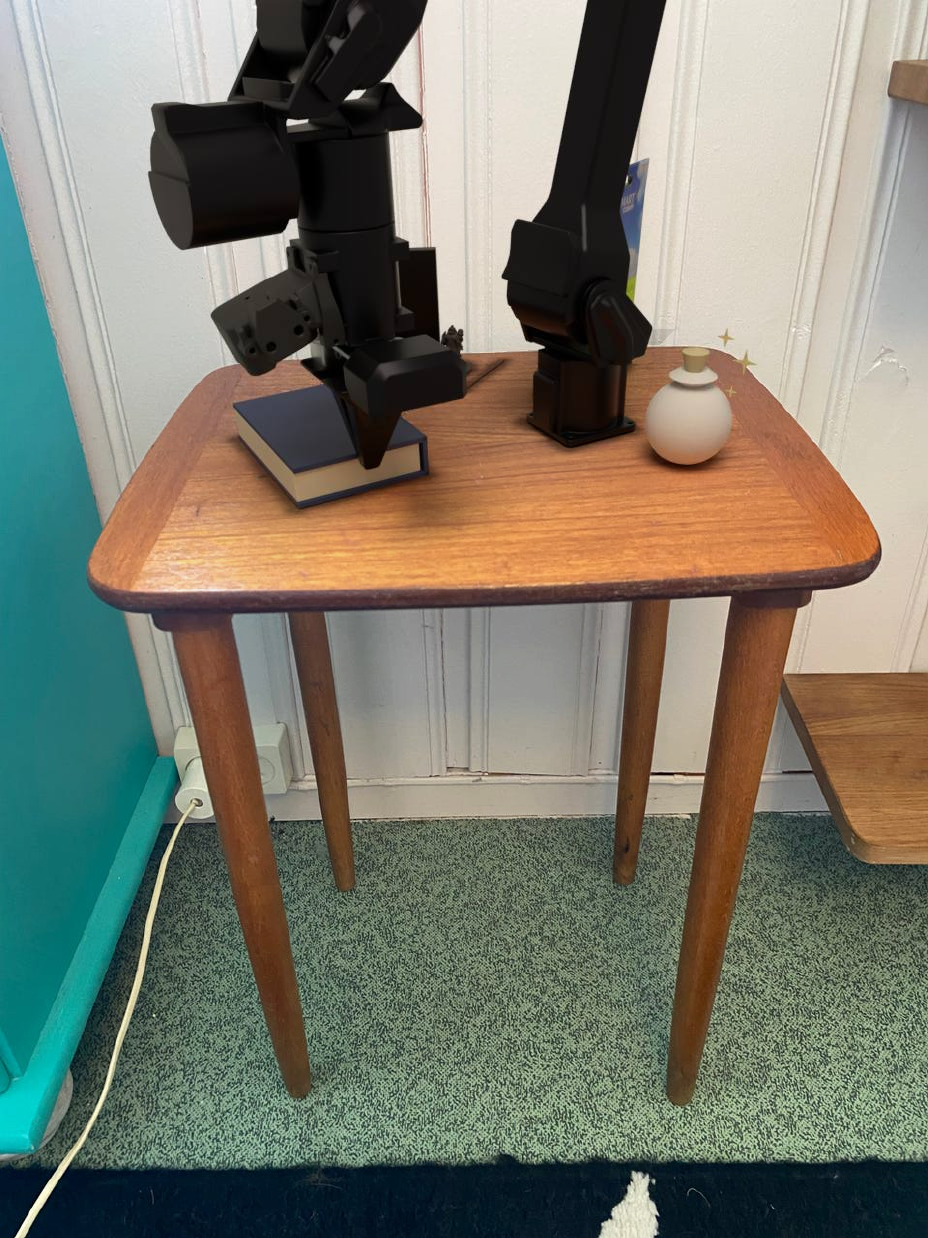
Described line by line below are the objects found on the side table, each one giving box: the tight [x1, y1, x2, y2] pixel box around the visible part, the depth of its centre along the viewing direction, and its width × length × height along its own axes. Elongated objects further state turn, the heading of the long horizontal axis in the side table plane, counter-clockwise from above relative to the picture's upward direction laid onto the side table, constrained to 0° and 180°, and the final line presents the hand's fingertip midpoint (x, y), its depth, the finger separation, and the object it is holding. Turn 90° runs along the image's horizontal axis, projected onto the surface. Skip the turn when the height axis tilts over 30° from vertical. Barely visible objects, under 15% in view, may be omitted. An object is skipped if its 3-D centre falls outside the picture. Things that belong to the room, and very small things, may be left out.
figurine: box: [440, 324, 505, 390], centre depth 83 cm, size 5×8×4 cm
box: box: [544, 157, 651, 348], centre depth 76 cm, size 10×4×17 cm, turn 147°
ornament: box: [644, 327, 758, 466], centre depth 63 cm, size 6×7×10 cm
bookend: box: [395, 246, 441, 343], centre depth 85 cm, size 10×5×9 cm, turn 89°
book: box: [232, 383, 430, 510], centre depth 68 cm, size 10×14×3 cm
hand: (370, 467), depth 62 cm, fingers closed
